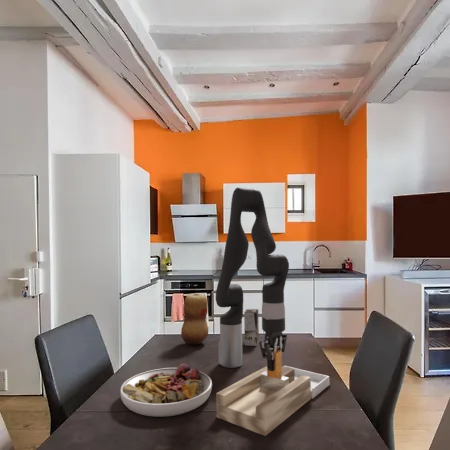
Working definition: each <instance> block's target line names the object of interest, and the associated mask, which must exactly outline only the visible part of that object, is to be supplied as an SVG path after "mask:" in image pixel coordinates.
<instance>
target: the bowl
mask: <svg viewBox="0 0 450 450" xmlns="http://www.w3.org/2000/svg"><path fill="white" fill-rule="evenodd" d="M212 388H213V382H212V379H211V377H210V376H209V375H207V374H206V373H205V372H202V371H200V370H198V369H197V368H191V366H190V364H188V363H186V362H184V363H180V364H179V366H177V367H163V368H157V369H151V370H147V371H144V372H141V373H137V374H135V375H133V376H131V377H130V378H128V379H126V380H125V381H124V382H123V383H122V385H121V386H120V399H121V401H122V403H123V404H124V405H125V406H126V408H127V409H129V410H130V411H132V412H133V413H136V414H138V415H142V416H147V417H172V416H177V415H178V416H179V415H183V414H185V413H188V412H191V411H193V410H195V409H197V408H199V407H200V406H201V405H203V404H204V403H205V402H206V401H207V400H208V398H209V397H210V395H211V392H212V390H213V389H212Z"/></svg>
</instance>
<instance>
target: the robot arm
mask: <svg viewBox="0 0 450 450" xmlns="http://www.w3.org/2000/svg"><path fill="white" fill-rule="evenodd" d="M243 212H244V213H253V214H254V215H255V220H254V223H253V225H252V227H251V233H250V234H251V239H252V242H253V245H254V249H255V255H256V271H257V273H258V274H259V275H260V276H262V277H274V278H273V279H272V281H270V282H267V283H265V284H263V285H262V287H261V289H262V291H261V293H262V298H261V299H262V303H261V329H262V331H263V332H264V333H265V334H264V339H263V341H261V340H259V348H260V351H261V355H262V358H263V359H266V366H267V369H268V370H269V371H274V353H275V352H276V349H277V350H281V351H282V353H285V351H286V344H287V338H288V334H286V333H283V332H284V331H285V330H286V306H285V292H284V291H285V285H286V281H287V278H288V277H287V276H288V273H289V269H290V263H289V260H288V258H287V256H286V255H284V254H282V253H281V254H273V253H274V252H275V251H276V249H277V244H276V242H275V239H274V237H273V233H272V231H271V229H270V225H269V223H268V216H267V211H266V207H265V202H264V197H263V194H262V192H261V191H260V190H259V189H258V188H251V187H250V188H249V187H236V188H235V189H234V190H233V193H232V196H231V203H230V215H229V225H228V230H227V231H228V232H227V238H226V241H225V247H224V251H223V260H222V264H221V265H222V266H221V271H220V274H219V278H218V282H217V285H216V291H215V301H216V305H217V307H219V308H229V310H228V311H226V312H225V313H223V314H222V315H220V317H219V339H220V340H218V345H217V346H218V349H217V350H218V351H217V353H218V364H219V365H221V367H224V368H231V369H232V368H234V369H235V368H238V367H241V366H242V365H243V318H244V317H243V316H244V315H243V314H244V292H243V287H242V286H241V285H240V284H239V283H237V284H236V283H235V284H234V283H232V280H233V278H234V277H235V275H236V274H237V273H238V271H239V270H240V269H241V268H242V266H243V265H244V264H245V262H246V260H247V256H248V251H249V245H250V244H249V240H248V239H249V238H248V237H247V235H246V233H245V231H244V228H243V226H242V213H243ZM231 283H232V284H231ZM270 352H271V354H270Z"/></svg>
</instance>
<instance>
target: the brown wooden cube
mask: <svg viewBox="0 0 450 450" xmlns="http://www.w3.org/2000/svg"><path fill="white" fill-rule="evenodd" d="M282 376H285V377H289V372H285V371H282Z"/></svg>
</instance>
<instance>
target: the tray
mask: <svg viewBox="0 0 450 450" xmlns="http://www.w3.org/2000/svg"><path fill="white" fill-rule="evenodd" d="M284 366H285V367H289V368H293V369H294V375H295V379H297V378H298V377H300V376H301V375H304V376H308V377H310V379H311V399H314V398H315V397H317V396H318V395H319V394H320V393H321V392H323V391H324V390H326V388H328V387H329V386H330V376H329V375H327V374H322V373H317V372H313V371H310V370H304V369H302V368H301V369H300V368H297V367H292V366H289V365H282V367H284Z"/></svg>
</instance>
